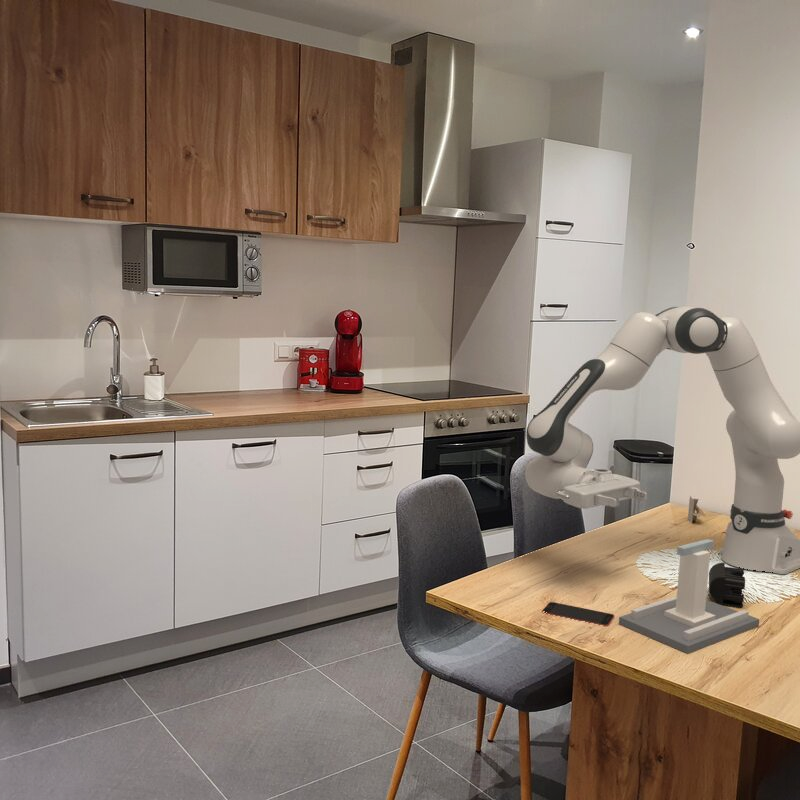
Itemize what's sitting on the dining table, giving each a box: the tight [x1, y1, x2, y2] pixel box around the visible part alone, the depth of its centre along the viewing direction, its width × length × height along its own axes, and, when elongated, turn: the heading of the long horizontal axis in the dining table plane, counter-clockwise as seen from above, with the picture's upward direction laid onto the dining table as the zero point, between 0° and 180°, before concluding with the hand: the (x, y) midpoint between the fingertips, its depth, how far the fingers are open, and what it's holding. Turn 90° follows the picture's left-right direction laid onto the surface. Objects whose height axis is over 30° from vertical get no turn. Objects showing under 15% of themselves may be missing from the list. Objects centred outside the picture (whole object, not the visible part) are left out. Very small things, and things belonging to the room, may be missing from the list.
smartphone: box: [541, 601, 615, 627], centre depth 172 cm, size 7×1×14 cm
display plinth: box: [618, 595, 760, 654], centre depth 168 cm, size 24×16×3 cm, turn 126°
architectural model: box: [687, 495, 706, 525], centre depth 244 cm, size 3×7×7 cm, turn 171°
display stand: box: [664, 538, 716, 628], centre depth 167 cm, size 7×10×16 cm
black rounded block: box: [708, 562, 746, 609], centre depth 183 cm, size 10×7×7 cm
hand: (631, 499), depth 182 cm, fingers open, 8 cm apart
